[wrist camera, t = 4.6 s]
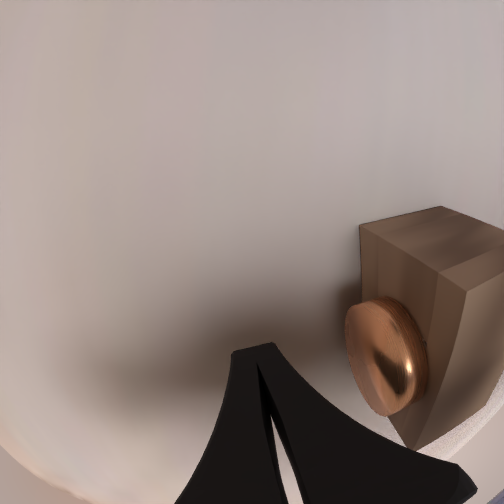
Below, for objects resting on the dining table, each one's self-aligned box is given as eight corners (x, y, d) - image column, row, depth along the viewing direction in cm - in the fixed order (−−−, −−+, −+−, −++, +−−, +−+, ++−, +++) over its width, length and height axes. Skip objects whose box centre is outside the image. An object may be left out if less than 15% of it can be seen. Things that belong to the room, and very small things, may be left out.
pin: (464, 243, 10) (531, 280, 6) (453, 318, 11) (504, 362, 7) (343, 284, 9) (408, 354, 6) (344, 366, 10) (387, 436, 7)
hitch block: (441, 206, 10) (541, 247, 5) (426, 343, 12) (485, 405, 7) (359, 225, 9) (466, 291, 5) (359, 372, 12) (410, 453, 7)
